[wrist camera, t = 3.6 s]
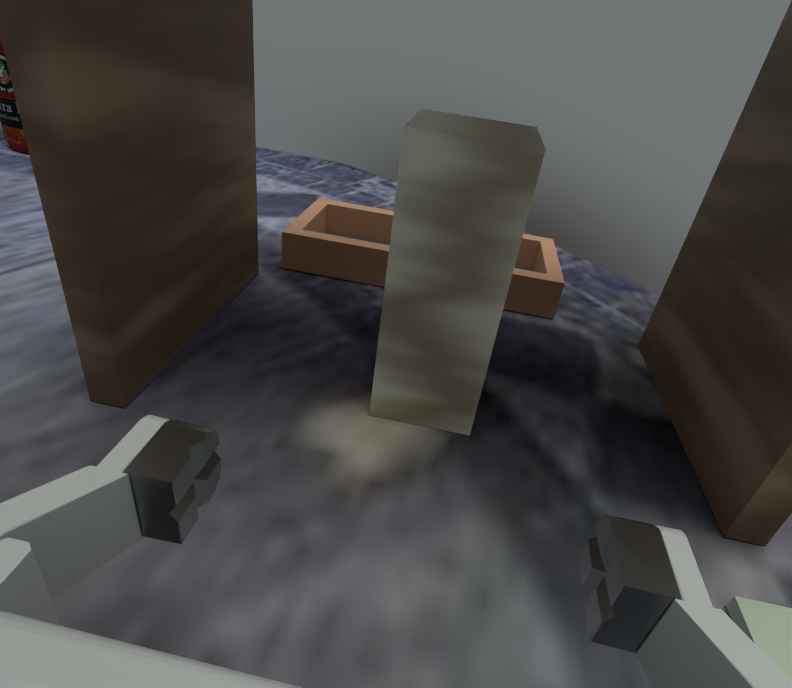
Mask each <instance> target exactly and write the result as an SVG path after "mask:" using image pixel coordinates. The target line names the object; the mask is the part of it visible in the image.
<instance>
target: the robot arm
mask: <svg viewBox="0 0 792 688" xmlns="http://www.w3.org/2000/svg"><path fill="white" fill-rule="evenodd" d="M218 445H219V437H218V432H217V431H215V430H213V429H209V428H205V427H200V426H196V425H192V424H188V423H184V422H180V421H176V420H172V419H171V420H170V419H166V418H162V417H158V416H154V415H150V414H149V415H147V416H145V417H143V418H141V419H140V420H139V421H138V422H137V424H136V425H135V426H134V427H133V428H132V429H131V430H130V431H129V432H128V433H127V434H126V435H125V436H124V437H123V439H122V440H121V441H120V442H119V443H118V444H117V445H116V446H115V447H114V448H113V449H112V450H111V451H110V452H109V453H108V455H107V456H106V457H105V458H104V459H103V460H102V461H101V462H100V463H99V464H98V465H97V466H91V465H89V466H87V467H84V468H82V469H80V470H77V471H75V472H72V473H70V474H68V475H65V476H63V477H61V478H58V479H56V480H54V481H51V482H49V483H47V484H44V485H42V486H40V487H37V488H35V489H33V490H30V491H28V492H26V493H23V494H21V495H18V496H16V497H14V498H11V499H9V500H7V501H4V502H2V503H0V688H303V687H299V686H295V685H291V684H287V683H283V682H279V681H275V680H271V679H267V678H263V677H259V676H256V675H252V674H248V673H244V672H240V671H236V670H232V669H228V668H224V667H220V666H216V665H212V664H209V663H205V662H201V661H197V660H193V659H189V658H185V657H181V656H177V655H173V654H169V653H165V652H162V651H158V650H154V649H150V648H146V647H142V646H138V645H134V644H130V643H126V642H122V641H119V640H115V639H111V638H107V637H103V636H99V635H95V634H91V633H87V632H83V631H79V630H75V629H72V628H68V627H64V626H61V618H60V616H59V614H58V611H57V609H56V606H55V604H54V601H53V598H54V597H56V596H57V595H59V594H60V593H62V592H63V591H65V590H66V589H68V588H69V587H71V586H72V585H74V584H75V583H77V582H78V581H80V580H81V579H83V578H84V577H86V576H87V575H89V574H90V573H91V572H93V571H94V570H96V569H97V568H99V567H100V566H102V565H103V564H105V563H106V562H108V561H109V560H111V559H112V558H114V557H115V556H117V555H118V554H120V553H121V552H123V551H124V550H126V549H127V548H129V547H130V546H132V545H133V544H135V543H136V542H138V541H139V540H141V539H142V536H144V537H149V538H154V539H159V540H163V541H168V542H173V543H178V544H182V543H183V541H184V540H185V538H186V537H187V535H188V534H189V532H190V530H191V529H192V527H193V526H194V524H195V522H196V521H197V519H198V513H197V508H198V507H199V506H201V505H203V504H205V503H207V502H208V501H209V500H210V498H211V496H212V495H213V493H214V491H215V489H216V486H217V483H218V481H219V478H220V471H221V459H220V457H219V456H218V455H217V454H216V453H215V449H216V448H217V446H218ZM595 529H596V534H597V536H596V537H594V538H592V539H590V540H588V541H587V543H586V545H585V548H584V550H583V553H582V559H581V564H580V566H581V582H582V588H583V589H584V590H585V592H586V593H587V594H588V595H589V597H590V598H591V599H590V601H589V603H588V604H587V606H586V608H585V610H586V616H587V622H588V629H589V635H590V641H591V642H594V643H598V644H602V645H606V646H609V647H613V648H617V649H621V650H625V651H628V652H632V653H636V654H635V657H636V658H637V660H638V661H639V663H640V665H641V666H642V668H643V669H644V671H645V672H646V674H647V675H648V677H649V679H650V680H651V682H652V683H653V685H654V686H655V688H792V682H791V681H790V680H789V679H788V678H787V676H786V675H785V674H784V673H783V672H782V671H781V670H780V669H779V668H778V667H777V666H776V665H775V664H774V663H773V662H772V661H771V660H770V659H769V658H768V657H767V656H766V655H765V654H764V653H763V652H762V651H761V650H760V649H759V648H758V646H757V645H756V644H755V643H754V642H753V641H752V640H751V639H750V638H749V637H748V636H747V635H746V634H745V633H744V632H743V631H742V630H741V629H740V628H739V627H738V626H737V625H736V624H735V623H734V622H733V621H732V620H731V619H730V618H729V617H728V615H727V614H726V613H725V612H724V611H723V610H721V609H717V608H714V607H713V605H712V602H711V599H710V597H709V594H708V592H707V589H706V586H705V584H704V581H703V578H702V576H701V573H700V571H699V568H698V565H697V563H696V560H695V558H694V555H693V552H692V550H691V547H690V545H689V542H688V539H687V537H686V535H685V534H684V533H683V532H682V531H681V530H677V529H672V528H667V527H662V526H658V525H652V524H648V523H643V522H639V521H634V520H629V519H624V518H619V517H614V516H610V515H605V514H604V515H602V516H601V517H600V518H599V520H598V521H597V523H596V525H595Z"/></svg>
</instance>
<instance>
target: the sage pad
mask: <svg viewBox="0 0 792 688" xmlns="http://www.w3.org/2000/svg"><path fill="white" fill-rule="evenodd" d="M726 608H727V610H728V613H729V615H730V618H731V620H732V621H733V622H734V623H735V624H736V625H737V626H738V627H739V628H740V629H741V630H742V631H743V632H744V633H745V634H746V635H747V636H748V637H749V638H750V639H751V640H752V641H753V642H754V643H755V644H756V645H757V646H758V648H759V649H760V650H761V651H762V652H763V653H764V654H765V655H766V656H767V657H768V658H769V659H770V660H771V661H772V662H773V663H774V664H775V665H776V666H777V667H778V668H779V669H780V670H781V671H782V672H783V673H784V674H785V675H786V676H787V678H788V679H789V680H790V681H791V682H792V608H788V607H783V606H779V605H774V604H770V603H766V602H761V601H757V600H752V599H748V598H743V597H739V596H734V597H733V598H732V599H731V601H730V602H729V603H728V604H727V606H726Z"/></svg>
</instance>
